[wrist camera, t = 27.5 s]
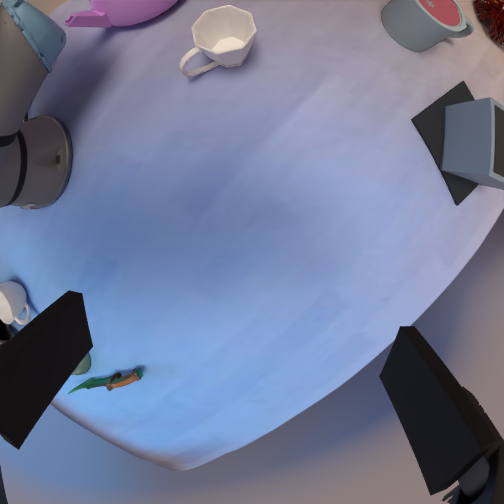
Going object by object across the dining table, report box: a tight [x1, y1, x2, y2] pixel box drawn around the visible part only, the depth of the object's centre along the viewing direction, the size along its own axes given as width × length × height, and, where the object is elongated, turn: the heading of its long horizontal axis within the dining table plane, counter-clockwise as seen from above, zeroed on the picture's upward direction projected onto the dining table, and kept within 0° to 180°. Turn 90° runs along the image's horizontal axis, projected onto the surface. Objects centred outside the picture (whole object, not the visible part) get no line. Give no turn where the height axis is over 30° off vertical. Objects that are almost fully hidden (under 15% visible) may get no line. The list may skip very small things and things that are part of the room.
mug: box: [381, 0, 474, 52], centre depth 21 cm, size 14×9×10 cm
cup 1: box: [0, 281, 30, 325], centre depth 38 cm, size 8×10×7 cm
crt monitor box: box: [440, 98, 504, 190], centre depth 25 cm, size 10×11×10 cm
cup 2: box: [179, 5, 257, 77], centre depth 25 cm, size 7×10×8 cm
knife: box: [68, 369, 143, 394], centre depth 43 cm, size 21×2×5 cm, turn 113°
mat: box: [412, 81, 479, 205], centre depth 30 cm, size 15×15×1 cm
